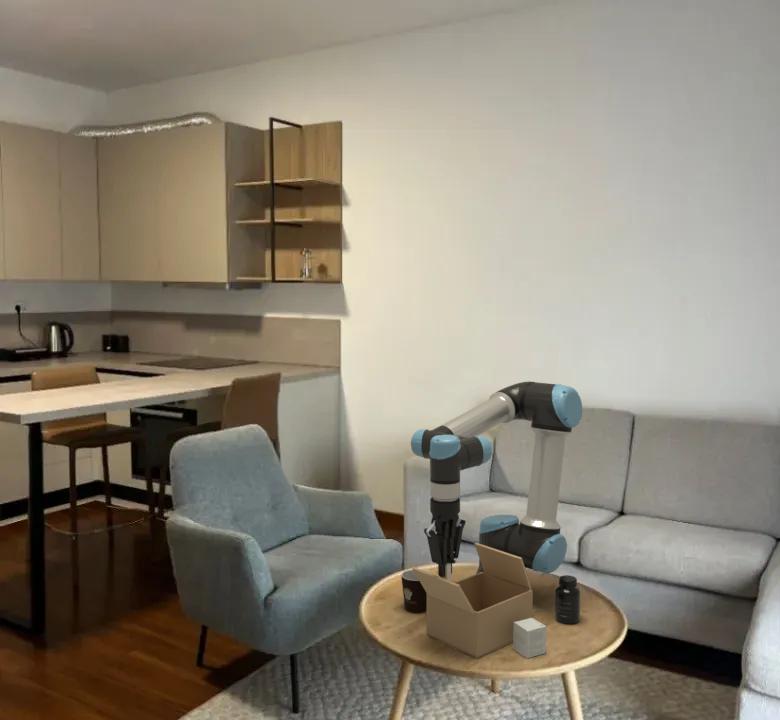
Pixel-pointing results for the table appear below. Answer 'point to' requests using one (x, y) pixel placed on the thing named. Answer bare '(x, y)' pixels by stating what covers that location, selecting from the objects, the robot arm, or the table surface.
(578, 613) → the supplement bottle
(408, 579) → the coffee mug
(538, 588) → the table surface
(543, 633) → the product box
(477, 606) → the carton
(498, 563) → the flap
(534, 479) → the robot arm
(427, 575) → the flap
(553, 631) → the table surface
